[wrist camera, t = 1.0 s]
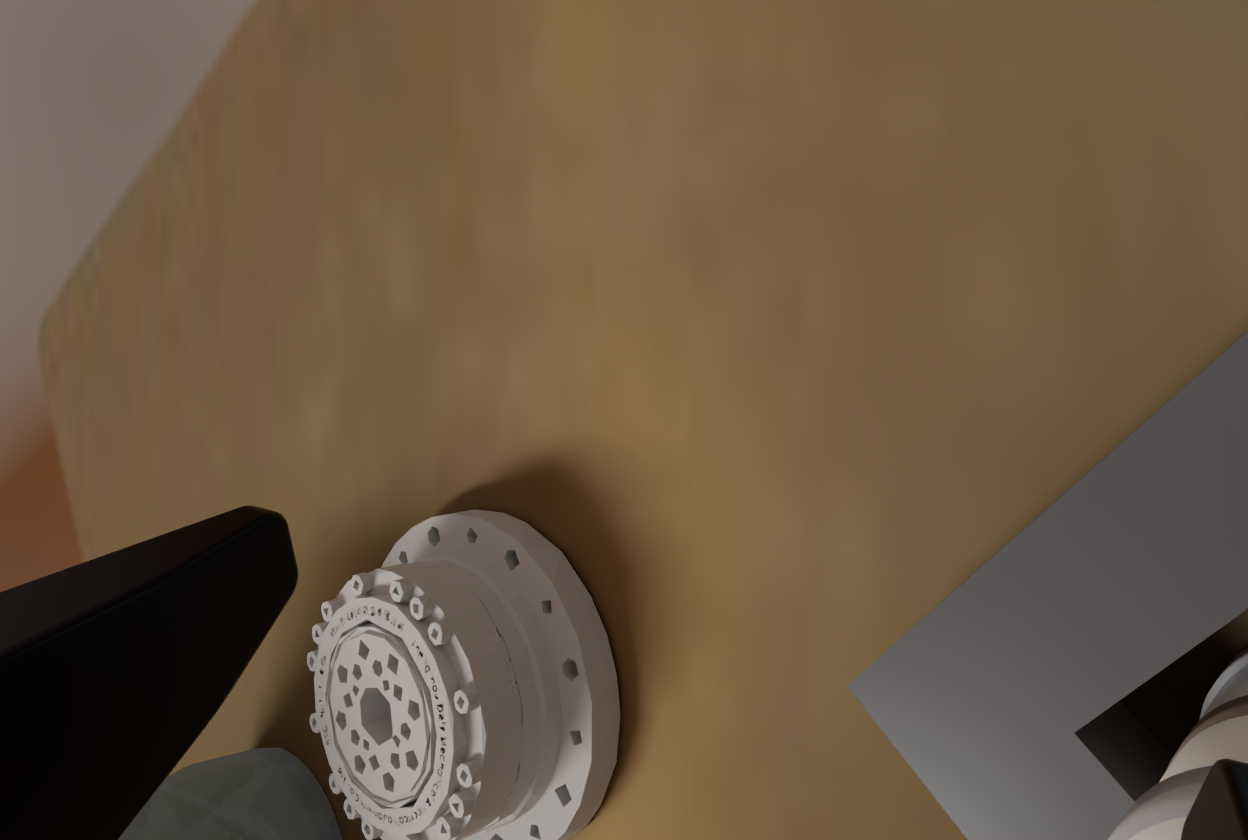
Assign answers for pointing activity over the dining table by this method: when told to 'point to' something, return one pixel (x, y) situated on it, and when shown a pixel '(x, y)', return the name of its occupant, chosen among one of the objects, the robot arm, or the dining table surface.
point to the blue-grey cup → (238, 802)
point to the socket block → (1078, 629)
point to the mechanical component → (467, 687)
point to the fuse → (1194, 759)
